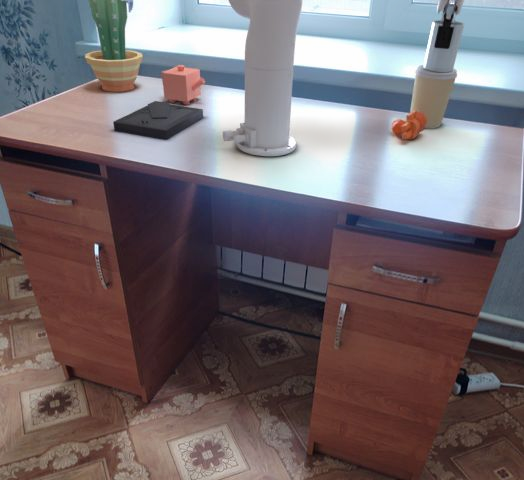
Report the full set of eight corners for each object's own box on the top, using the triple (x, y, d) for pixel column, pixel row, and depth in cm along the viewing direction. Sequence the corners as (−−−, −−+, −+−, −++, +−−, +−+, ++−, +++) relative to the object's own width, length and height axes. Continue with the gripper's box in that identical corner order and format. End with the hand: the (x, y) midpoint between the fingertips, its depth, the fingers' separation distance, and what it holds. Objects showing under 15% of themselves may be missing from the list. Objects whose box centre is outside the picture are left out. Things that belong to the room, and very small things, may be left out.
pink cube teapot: (199, 107, 128) (197, 71, 123) (157, 101, 131) (154, 66, 126) (212, 100, 134) (210, 65, 129) (171, 94, 137) (169, 60, 132)
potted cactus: (120, 98, 133) (103, -19, 117) (77, 88, 139) (56, -24, 122) (158, 86, 143) (147, -23, 127) (117, 78, 149) (102, -28, 133)
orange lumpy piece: (415, 118, 107) (430, 105, 115) (381, 124, 111) (398, 111, 119) (417, 142, 110) (431, 128, 118) (384, 147, 114) (400, 133, 122)
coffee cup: (440, 118, 127) (453, 65, 120) (447, 130, 120) (461, 74, 112) (403, 116, 128) (414, 63, 120) (407, 128, 121) (419, 72, 113)
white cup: (436, 73, 113) (447, 25, 107) (417, 66, 117) (426, 20, 111) (459, 70, 115) (470, 24, 109) (438, 64, 120) (449, 19, 114)
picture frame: (155, 110, 126) (114, 130, 113) (154, 100, 124) (112, 120, 112) (203, 117, 122) (166, 139, 110) (202, 107, 121) (165, 129, 108)
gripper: (447, -56, 109) (428, 36, 120) (443, -53, 96) (422, 49, 108) (483, -54, 107) (460, 39, 119) (484, -51, 95) (458, 53, 106)
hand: (442, 44), depth 113 cm, fingers open, 9 cm apart
